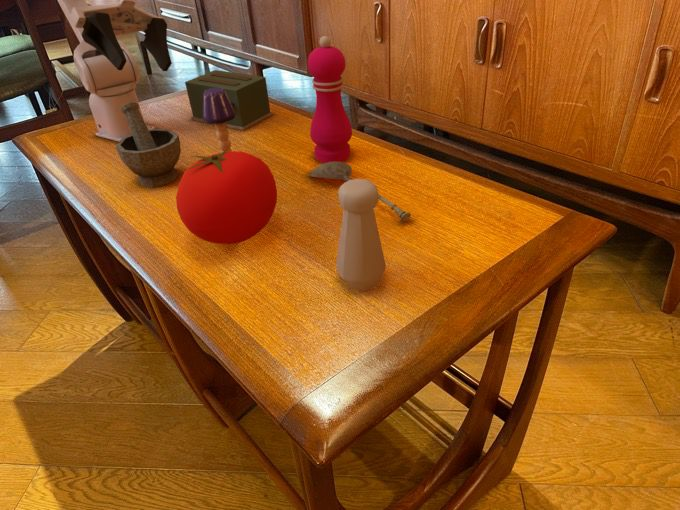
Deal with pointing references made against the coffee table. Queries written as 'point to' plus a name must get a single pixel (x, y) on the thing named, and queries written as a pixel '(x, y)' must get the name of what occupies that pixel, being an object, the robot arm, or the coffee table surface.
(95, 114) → the robot arm
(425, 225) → the coffee table surface
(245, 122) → the toaster
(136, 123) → the mortar and pestle
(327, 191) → the coffee table surface
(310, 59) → the pepper mill
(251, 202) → the tomato
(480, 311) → the coffee table surface
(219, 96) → the toy lamp
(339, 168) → the soupspoon
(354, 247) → the salt shaker
